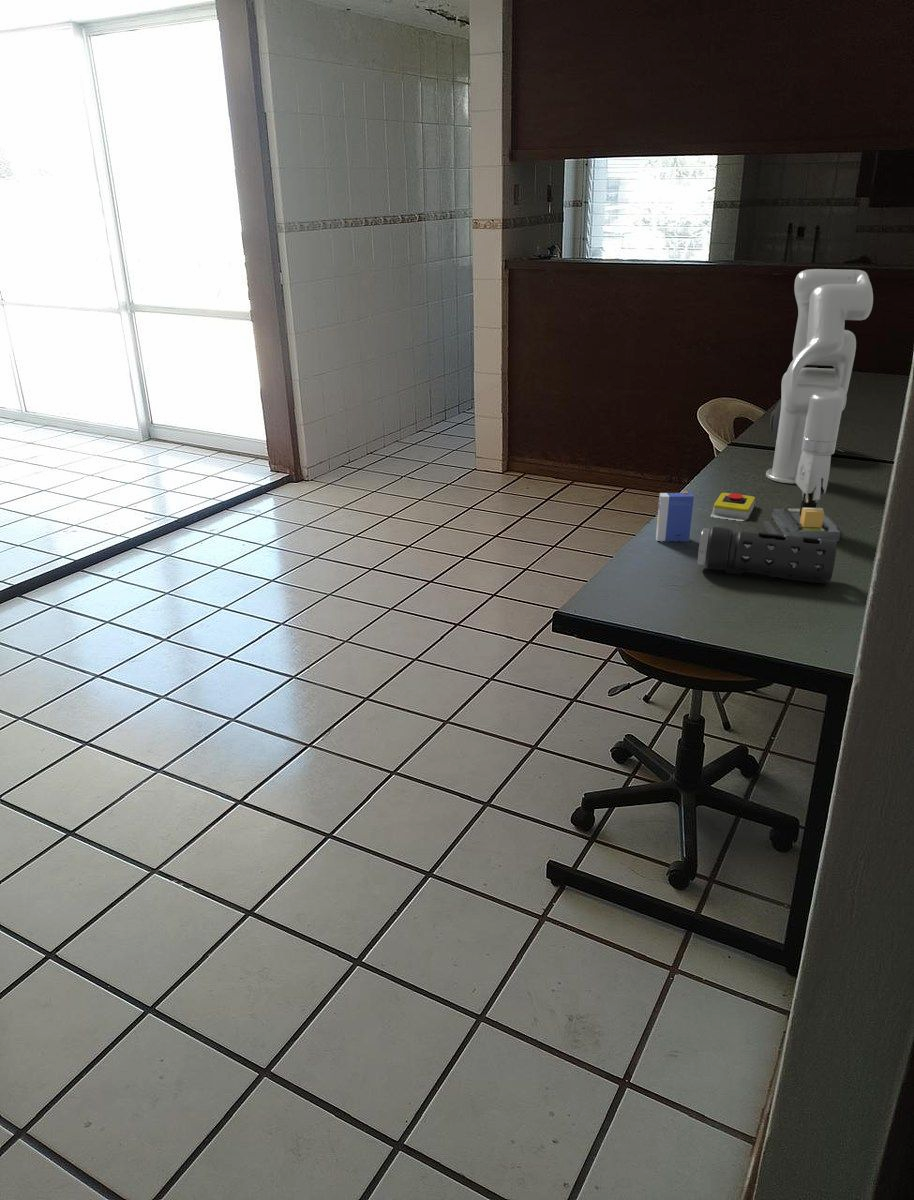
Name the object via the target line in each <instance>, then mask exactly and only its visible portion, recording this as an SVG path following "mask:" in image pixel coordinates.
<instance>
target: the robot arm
mask: <svg viewBox="0 0 914 1200" xmlns="http://www.w3.org/2000/svg"><path fill="white" fill-rule="evenodd" d="M793 287H794V289H793V291H794V296H795V301H796V304H797V311H798V312H797V313H798V315H797V321H796V327H795V332H794V333H795V334H794V338H793V339H794V340H793V344H792V345H793V346H792V361H790V364H789V366H788V368H787V370H786V372H785V373H784V374H783V376H782V378H781V385H780V386H781V388H780V389H781V395H780V396H781V398H780V399H781V412H780V420H779V427H778V434H777V441H776V440H775V441H776V442H775V449H774V455H773V461H772V468H768V469H767V470H766V472H765V477H766V478H767V479H769V480H771V481H774V482H777V483H782V484H783V483H784V484H795V485H797V487H798V488H799V489H800V490H801V491H802V492H801V502H800V508H799V509H800V513H799V515H800V516H801V512H802V507H803V508H817V504H818V502H819V501H820V500H821V495H824V494H826V491H827V488H828V483H829V478H830V472H831V471H830V469H831V460H832V459H831V458H832V455H834V454H835V451H836V445H837V439H838V435H839V431H840V430H839V429H840V425H841V421H840V419H841V420H842V412H843V411H844V410H845V408H846V404H847V397H848V396H847V394H848V391H849V386H850V381H851V377H852V372H853V366H854V361H855V357H856V350H857V339H856V335H855V334H854V332H852V331H850V330H848V329H845V321H863V320H864V321H865V320H866V319H867V318H869V316H870V314H871V312H872V309H873V305H874V293H873V287H872V283H871V281H870V278H869V275H868V273H867V272H866V271H864V270H861V269H835V268H833V269H831V268H827V269H826V268H825V269H824V268H812V269H810V268H809V269H805V270H802V271H799V273H798V274H797V275H796V277H795V279H794V286H793ZM806 366H824V368H818V367H806ZM825 366H828V367H830V366H831V367H833V368H825ZM839 424H840V425H839Z"/></svg>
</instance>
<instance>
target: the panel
mask: <svg viewBox="0 0 914 1200" xmlns="http://www.w3.org/2000/svg"><path fill="white" fill-rule="evenodd" d="M771 511H772V512H771V517H772V518H773V519H774V521H775V522H776V524H777V525H778V526H779V528H780V529H781V530H780V529H779V528H778V529H779V530H780V532H781V531H782V532H783V533H782V532H781V533H782V535H783V534H784V535H789V536H798V537H808V538H817V539H827V540H835V541H836V543H837V542H839V541H840V536H841V530H839V529H837V528H836V527H835V525H834V524H833V523H832V522H831V521H830V520H829V519H828V518H827V517H826V516H827V515H826V514H825V513H824V517H823V523H822V527H803V526H802V525H801V524H800V518H801V516H800V515H799V513H800V508H772V510H771ZM772 518H771V519H772ZM774 521H773V522H774ZM775 522H774V523H775ZM776 524H775V525H776ZM777 525H776V526H777ZM778 526H777V527H778Z"/></svg>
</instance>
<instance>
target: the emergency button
mask: <svg viewBox="0 0 914 1200" xmlns="http://www.w3.org/2000/svg"><path fill="white" fill-rule="evenodd" d="M755 500H756V497H755V496H752V495H745V494H740V493H731V492H721V493H720V494H719V496H718V498H717V499H716V501H715V502H714V503H713V508H712V512H711V514H710V518H712V517H713V519H718V518H720V520H725V519H728V520H727V521H732V520H736V521H735V522H739V521H741V523H743V522H742V521H744V520H743V518H744V519H745V518H748V517H749V518H750V516H751V515H750V513H751V511H752V510H753V511H754V509H753V508H755V507H754V504H755V505H756V502H755ZM753 511H752V512H753ZM751 514H752V513H751ZM749 515H750V516H749ZM734 518H736V519H734ZM749 518H748V519H749Z"/></svg>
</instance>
